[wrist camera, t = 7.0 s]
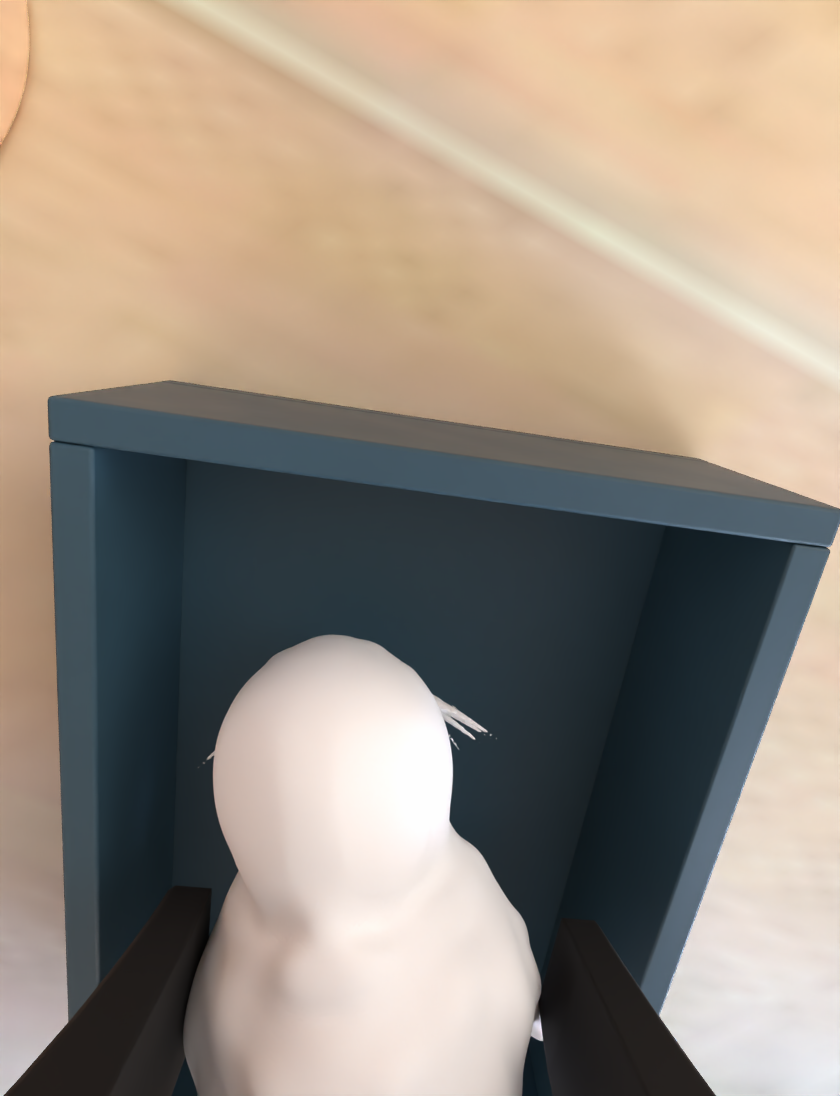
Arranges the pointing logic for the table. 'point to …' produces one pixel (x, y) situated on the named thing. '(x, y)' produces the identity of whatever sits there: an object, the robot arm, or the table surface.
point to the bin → (417, 645)
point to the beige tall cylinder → (12, 59)
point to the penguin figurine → (353, 897)
